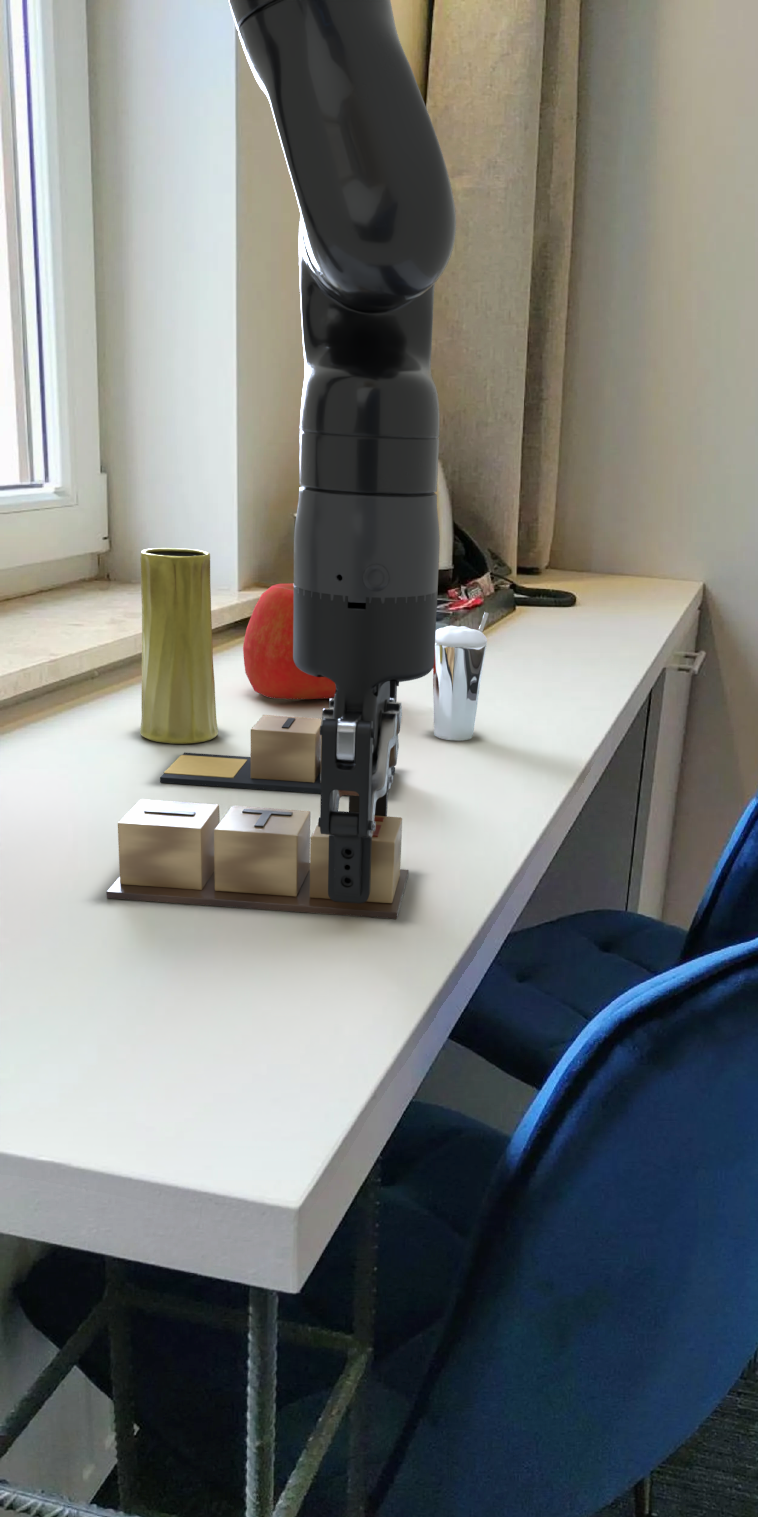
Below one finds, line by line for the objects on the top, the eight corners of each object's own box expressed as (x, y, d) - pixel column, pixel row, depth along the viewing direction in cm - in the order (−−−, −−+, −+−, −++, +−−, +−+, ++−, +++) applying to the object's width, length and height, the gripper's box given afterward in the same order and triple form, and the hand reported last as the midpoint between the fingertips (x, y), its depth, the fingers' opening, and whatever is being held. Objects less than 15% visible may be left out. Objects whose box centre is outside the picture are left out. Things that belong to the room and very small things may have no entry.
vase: (141, 725, 109) (135, 546, 104) (217, 726, 110) (215, 548, 105) (138, 744, 103) (132, 555, 98) (219, 745, 104) (217, 558, 99)
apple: (301, 715, 115) (302, 590, 111) (216, 693, 121) (215, 574, 117) (384, 698, 123) (388, 581, 119) (300, 678, 129) (302, 566, 125)
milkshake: (498, 737, 112) (507, 617, 108) (453, 745, 108) (460, 622, 105) (460, 725, 115) (467, 608, 111) (415, 734, 111) (420, 613, 107)
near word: (106, 898, 73) (103, 827, 71) (141, 856, 79) (139, 790, 78) (397, 919, 72) (400, 848, 71) (408, 875, 79) (411, 809, 77)
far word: (159, 782, 94) (158, 725, 92) (184, 757, 100) (183, 703, 99) (385, 798, 93) (387, 741, 92) (395, 772, 100) (397, 718, 98)
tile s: (309, 898, 73) (310, 834, 72) (321, 870, 78) (323, 809, 76) (392, 904, 73) (394, 840, 72) (400, 876, 78) (402, 815, 76)
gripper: (315, 560, 76) (312, 831, 82) (269, 595, 63) (269, 916, 69) (446, 568, 76) (433, 839, 82) (427, 605, 63) (413, 926, 68)
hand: (358, 874), depth 75 cm, fingers open, 7 cm apart
